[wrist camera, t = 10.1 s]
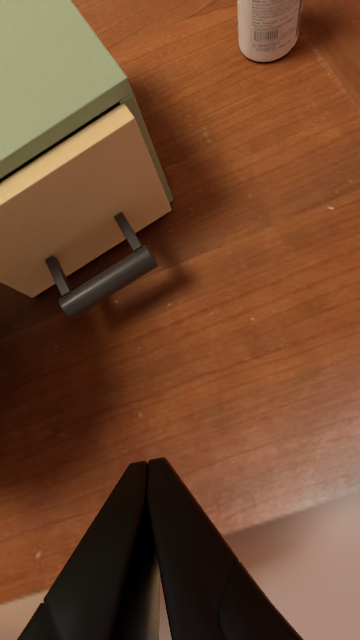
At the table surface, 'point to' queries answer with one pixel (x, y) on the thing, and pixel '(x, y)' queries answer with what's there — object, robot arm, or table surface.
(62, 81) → the cabinet
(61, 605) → the robot arm
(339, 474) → the table surface
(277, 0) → the pill bottle
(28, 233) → the drawer
